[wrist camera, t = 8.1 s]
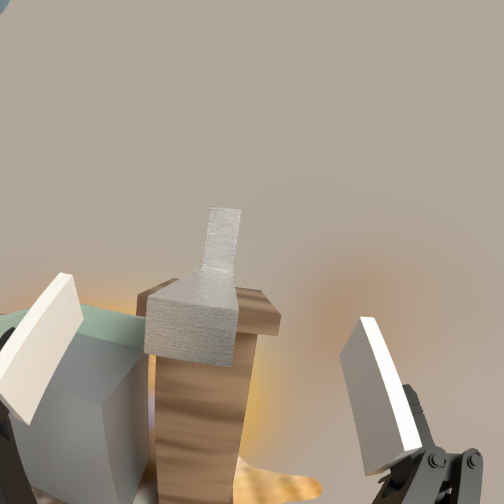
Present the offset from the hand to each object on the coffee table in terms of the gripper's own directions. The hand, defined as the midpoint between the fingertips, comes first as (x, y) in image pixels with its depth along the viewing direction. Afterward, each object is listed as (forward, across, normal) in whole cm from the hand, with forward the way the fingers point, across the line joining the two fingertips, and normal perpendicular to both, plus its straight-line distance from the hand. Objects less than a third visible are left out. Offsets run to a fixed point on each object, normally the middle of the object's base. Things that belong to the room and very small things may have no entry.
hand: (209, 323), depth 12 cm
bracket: (+6, -1, -4) cm, 7 cm away
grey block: (-3, -16, -34) cm, 37 cm away
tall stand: (-4, 0, -33) cm, 33 cm away
